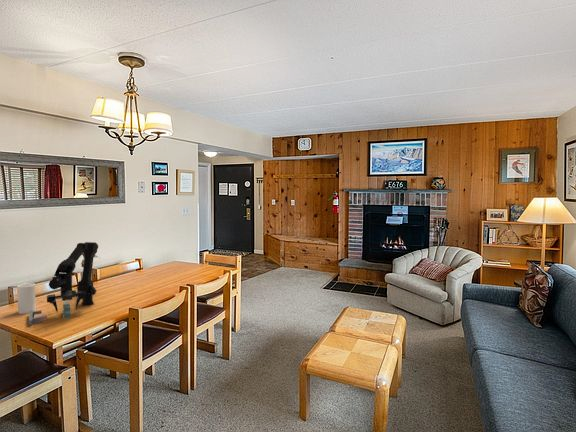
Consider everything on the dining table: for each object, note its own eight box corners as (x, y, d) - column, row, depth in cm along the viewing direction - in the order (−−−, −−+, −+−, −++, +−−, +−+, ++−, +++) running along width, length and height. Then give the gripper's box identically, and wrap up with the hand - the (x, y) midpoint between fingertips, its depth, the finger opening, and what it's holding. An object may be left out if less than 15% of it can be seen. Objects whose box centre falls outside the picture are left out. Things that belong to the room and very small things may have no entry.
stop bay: (29, 315, 196) (29, 310, 196) (41, 313, 199) (41, 308, 199) (28, 326, 182) (28, 320, 181) (41, 324, 185) (41, 318, 184)
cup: (26, 314, 198) (25, 287, 197) (14, 313, 199) (13, 286, 198) (39, 309, 206) (38, 283, 205) (27, 308, 207) (26, 282, 206)
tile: (34, 318, 193) (34, 314, 192) (47, 316, 196) (47, 312, 196) (33, 322, 188) (33, 318, 187) (47, 320, 191) (47, 316, 191)
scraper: (62, 312, 203) (62, 302, 202) (69, 311, 205) (69, 301, 204) (63, 319, 193) (63, 308, 193) (70, 317, 195) (70, 307, 195)
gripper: (46, 290, 186) (47, 318, 187) (86, 285, 197) (86, 312, 198) (46, 285, 195) (47, 311, 196) (84, 281, 206) (84, 306, 207)
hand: (66, 310), depth 199 cm, fingers open, 9 cm apart
